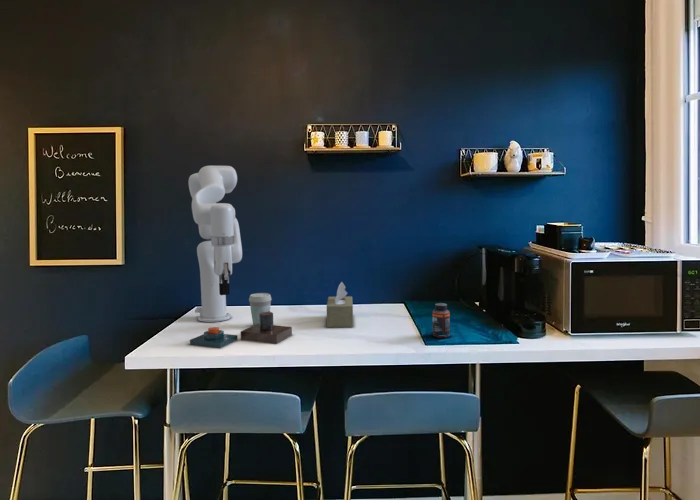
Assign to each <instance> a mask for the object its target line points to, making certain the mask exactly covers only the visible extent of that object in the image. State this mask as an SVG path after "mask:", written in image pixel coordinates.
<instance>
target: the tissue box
mask: <svg viewBox="0 0 700 500" xmlns="http://www.w3.org/2000/svg"><path fill="white" fill-rule="evenodd" d="M346 288H347V287H346V285H345V284H344V282H343V281H340V283H339V285H338V287H337V290H336V295H335V296H328V297H327V302H326V328H353V327H354V304H353V296H352V295H348V292H347V290H346ZM347 295H348V296H347Z"/></svg>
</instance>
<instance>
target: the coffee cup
mask: <svg viewBox="0 0 700 500" xmlns="http://www.w3.org/2000/svg"><path fill="white" fill-rule="evenodd" d="M272 300H273V298H272V296H271V294H270V293H268V292H257V293H251V294H250V295H249V298H248V302H249V306H250V313H251V319H252V326H254V325H256V324H259V313H262V312H268V311H270V312H271V305H272V304H271V303H272Z"/></svg>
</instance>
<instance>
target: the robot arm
mask: <svg viewBox="0 0 700 500" xmlns="http://www.w3.org/2000/svg"><path fill="white" fill-rule="evenodd" d="M187 182H188V183H187V184H188V189H189V195H190V197H191V213H192V218H193V221H194V223H195V224H196V225H198V233H199V236H200V237H201V238H202V239H204V241H201V242H200V243H199V244H198V245H197V246H196V255H197V261H198V265H199V277H200V278H199V279H200V294H201V295H200V298H201V300H200V301H201V306H196V308H195V309H194V313H195V314H199V315H198V317H197V320H198V321H200V322H204V323H218V322H224V321H227V320H229V319H230V318H231V313H228V312H227V296H230V294H231V293H230V291H231V290H230V289H231V288H230V276H232V274H233V264H237V263H240V262H241V261H242V259H243V246H242V239H241V237H242V236H241V231H240V225H239V221H238V219H237V217H236V209H235V207H234V206H233V205H232V204H231V203H227V202H226V203H225V202H223V203H222V202H220V201H222V200H223V199H224V197H225V194H230V193H232V192H233V190H234V189H235V188H236V186H237V183H238V174H237V171H236V169H235V168H234V167H233V166H231V165H204V166H203V167H201V168H200V169H199V171H198V172H195V173H193V174H191V175H190V176H189V177H188V181H187Z"/></svg>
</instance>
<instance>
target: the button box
mask: <svg viewBox="0 0 700 500" xmlns="http://www.w3.org/2000/svg"><path fill="white" fill-rule="evenodd" d="M236 341H238V335H237V334H229V333H225V331H224V330H222V329H219V333H217V334H208V330H205V331H204V332H203V333H202V334H201V335H198V336H196V337H194V338H191V339H189V345H190V346H197V347H205V348H206V347H207V348H215V349H222V348H223V347H227V346H228V345H231V344H232V343H234V342H236Z"/></svg>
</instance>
